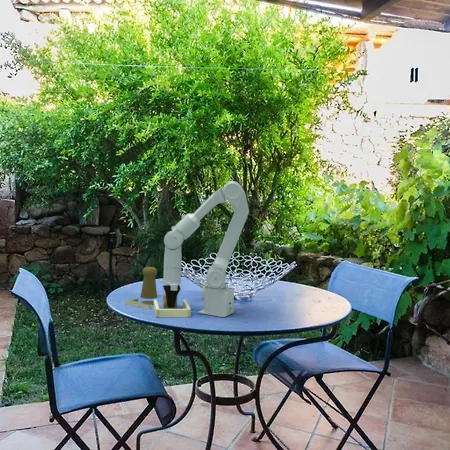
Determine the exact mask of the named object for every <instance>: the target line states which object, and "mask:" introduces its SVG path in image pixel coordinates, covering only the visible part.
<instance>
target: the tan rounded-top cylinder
mask: <svg viewBox="0 0 450 450" xmlns="http://www.w3.org/2000/svg"><path fill="white" fill-rule="evenodd" d="M204 295H205V284H203V286H202V300H203V301H204Z"/></svg>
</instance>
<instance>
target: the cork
mask: <svg viewBox="0 0 450 450" xmlns="http://www.w3.org/2000/svg"><path fill="white" fill-rule="evenodd" d="M157 270H158V269H157V268H156V267H153V266H145V267H144V268H143V269H142V275H143V280H142V285H141V293H140V298H142V299H146V300H147V299H150V300H151V299H157V298H158V291H157V283H156V276H157V273H158V271H157Z"/></svg>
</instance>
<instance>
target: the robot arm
mask: <svg viewBox="0 0 450 450" xmlns="http://www.w3.org/2000/svg"><path fill="white" fill-rule="evenodd" d="M226 200H227V201H226ZM226 202H229V204H230V206H231V209H232V210H233V215H232V217H231V220H230V222H229V225H228V227H227V230H226V233H225V235H224V237H223V240H222V242H221V244H220V247H219V250H218V252H217V254H216V256H215V259H214V261H213V264H211V265H210V266H209V267H208V268H207V273H206V275H205V280H206V283H204V285H205V295H204V300H203V309H200V311H199V310H198V313H199V314H203V315H209V316H215V317H220V318H225V317H227V316H230V315H231V314H233V313H234V312H235V311H234V302H235V301H234V300H235V291H234V289H232V288H229V287H228V286H227V283H226V275H227V272H226V271H227V270H228V266H229V263H230V261H231V258H232V255H233V252H234V250H235V248H236V246H237V243H238V241H239V238H240V236H241V233H242V230H243V228H244V227H245V223H246V221H247V218H248V216H249V213H250V208H249V205H248V201H247V195H246V191H244V188H243V187H242V185H241V184H240V183H238V181H235V180H234V181H233V180H231V181H227V182H226V183H225V184H224V186H221V187H220V188H218V189H217V190H216V191H214V192H213V193H212V194H211V195H210V196H209V197H208V198H207V199H206V200H205V201H204V202H203V203H202V204H201V205H200V206H199V207H198V208H197V209H196V210H195V212H193V213H186V214H183V215H182V216H181V217H180V220H179V221H178V222H177V223H176V224H175V225H172V226H171V227H170V231H167V232H166V234H165V236H164V237H163V244H164V252H163V253H164V254H163V276H162V277H163V279H162V278H161V279H159V283H163V284H165V285H162V288H163V290H164V293H165V294H166V300H167V306H168V308H174V306H175V303H176V299H177V300H178V295H179V293H180V291H181V283H182V276H181V275H182V244H183V243H184V240H187V239H188V238H189V237H190V236H191V235H192V234H193V233H194V232H196V231H197V229H198V228H199V227H200V225H201V222H200V221H201V220H202V219H203V218H204V217H205V216H206V215H207V214H208V213H209V212H210V211H211V210H212V209H214V208H215V206H217V205H218V204H223V203H226Z"/></svg>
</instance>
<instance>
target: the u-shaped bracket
mask: <svg viewBox="0 0 450 450" xmlns="http://www.w3.org/2000/svg"><path fill="white" fill-rule="evenodd" d="M153 301H154V304H153V305H152V308H153V310H154V315H155V318H163V319H164V318H191V315H192V309H191V307H190V305H189V303H188V301H187V299H182V308H177V309H163V308H160V306H159V303H158V299H153Z"/></svg>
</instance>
